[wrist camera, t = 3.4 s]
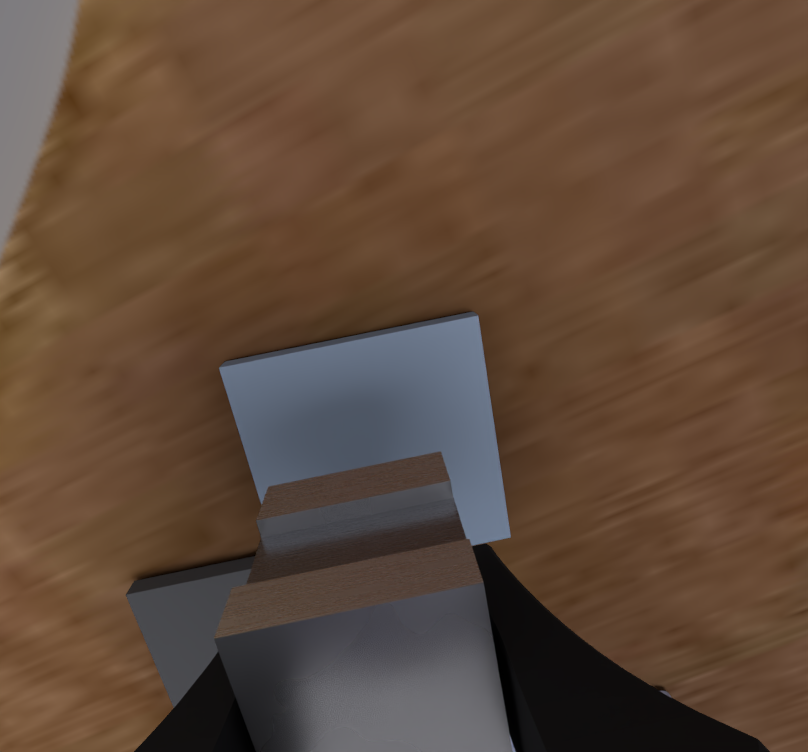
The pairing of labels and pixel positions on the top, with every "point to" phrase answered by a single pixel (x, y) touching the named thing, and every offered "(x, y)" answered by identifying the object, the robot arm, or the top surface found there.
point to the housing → (365, 619)
